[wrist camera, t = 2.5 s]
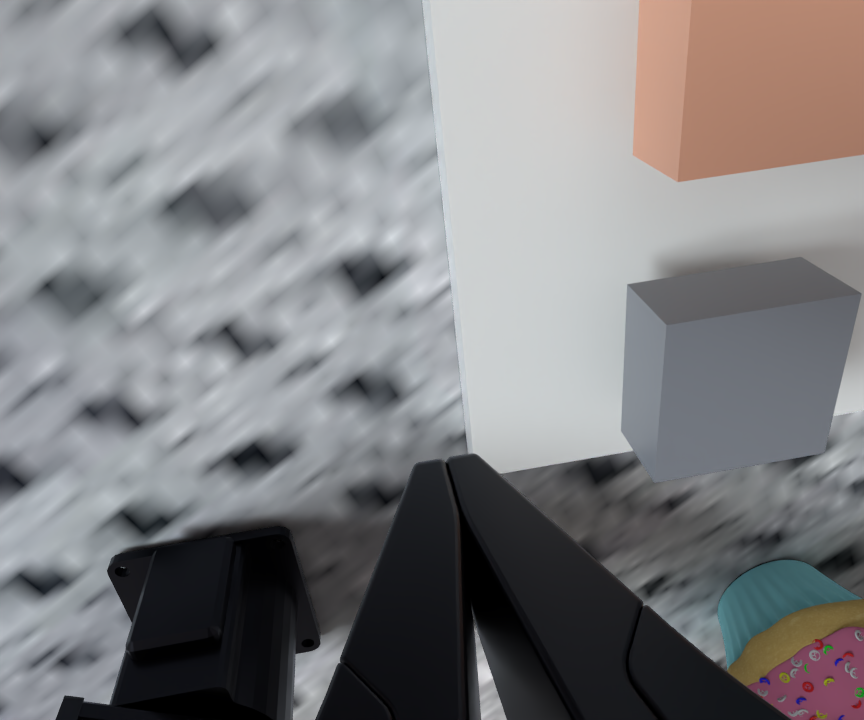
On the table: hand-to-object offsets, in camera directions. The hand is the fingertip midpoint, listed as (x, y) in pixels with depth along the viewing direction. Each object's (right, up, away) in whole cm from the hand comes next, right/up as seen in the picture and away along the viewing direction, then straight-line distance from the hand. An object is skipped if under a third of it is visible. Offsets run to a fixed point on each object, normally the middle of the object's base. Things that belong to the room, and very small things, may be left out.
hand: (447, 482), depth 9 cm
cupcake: (+15, -9, +22) cm, 28 cm away
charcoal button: (+8, +2, +11) cm, 14 cm away
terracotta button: (+7, +9, +7) cm, 13 cm away
